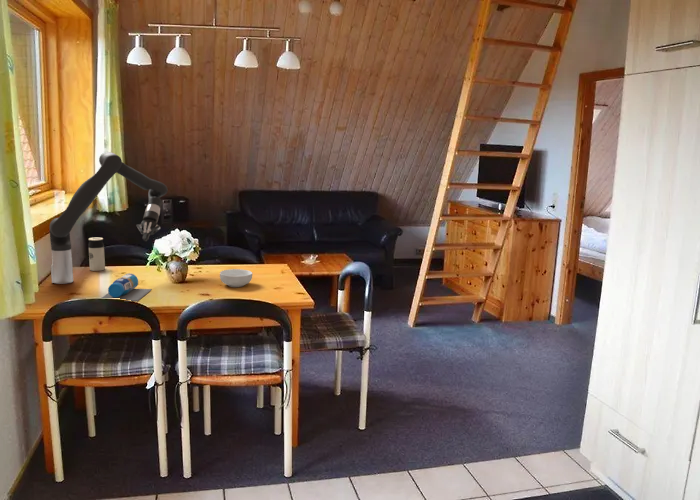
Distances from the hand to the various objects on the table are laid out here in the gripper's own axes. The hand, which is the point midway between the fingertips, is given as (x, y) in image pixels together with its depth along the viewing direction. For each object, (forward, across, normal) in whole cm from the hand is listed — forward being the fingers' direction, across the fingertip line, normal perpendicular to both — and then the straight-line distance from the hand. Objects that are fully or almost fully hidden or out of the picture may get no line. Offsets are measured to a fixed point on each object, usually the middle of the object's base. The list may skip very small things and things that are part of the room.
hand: (144, 240), depth 308 cm
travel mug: (+1, -34, +30) cm, 46 cm away
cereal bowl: (+19, +49, +12) cm, 54 cm away
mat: (+36, 0, -6) cm, 37 cm away
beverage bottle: (+25, -2, 0) cm, 25 cm away
